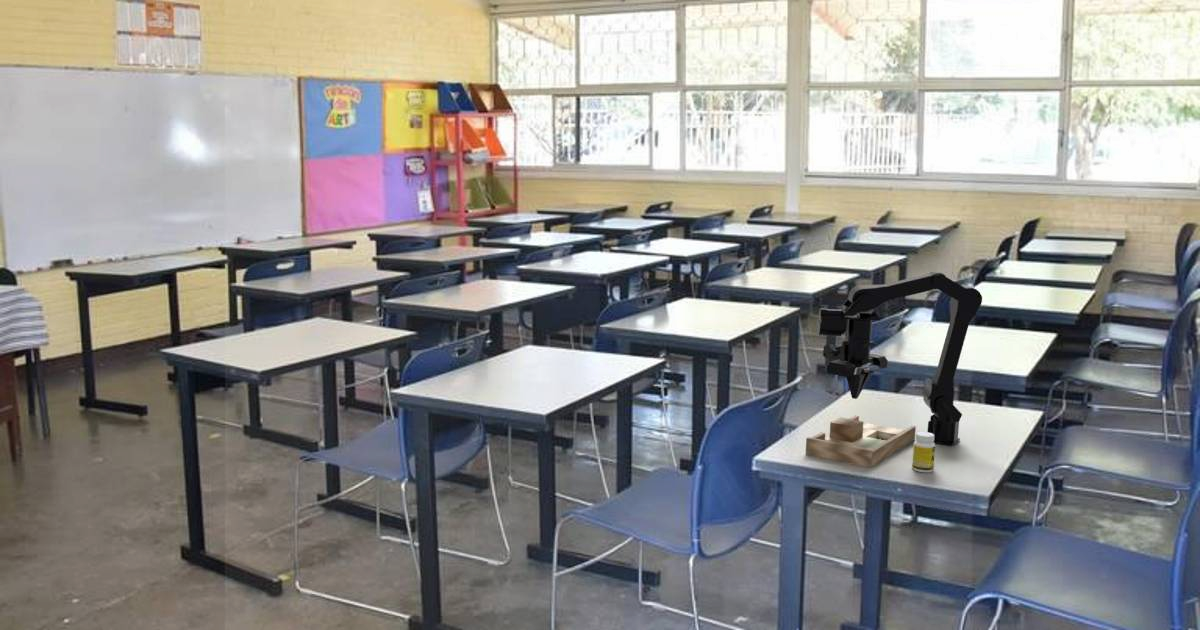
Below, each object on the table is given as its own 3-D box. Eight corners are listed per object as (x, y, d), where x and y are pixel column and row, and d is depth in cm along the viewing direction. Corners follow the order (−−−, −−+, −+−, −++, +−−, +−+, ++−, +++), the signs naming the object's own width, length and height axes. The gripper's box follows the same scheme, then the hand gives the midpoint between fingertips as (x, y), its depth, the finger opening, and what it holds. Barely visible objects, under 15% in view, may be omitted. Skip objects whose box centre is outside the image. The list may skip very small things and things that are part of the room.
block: (862, 437, 255) (863, 421, 254) (852, 442, 250) (853, 426, 249) (839, 432, 258) (840, 417, 257) (829, 438, 253) (830, 422, 253)
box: (914, 439, 260) (915, 424, 260) (869, 467, 237) (870, 450, 237) (854, 428, 270) (855, 413, 269) (805, 454, 247) (806, 437, 246)
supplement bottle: (934, 473, 234) (937, 437, 232) (912, 472, 235) (915, 436, 233) (932, 467, 238) (934, 432, 237) (910, 465, 239) (913, 430, 238)
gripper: (853, 328, 269) (848, 387, 271) (809, 336, 256) (805, 397, 259) (890, 335, 260) (886, 395, 263) (847, 343, 248) (843, 406, 251)
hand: (854, 398), depth 259 cm, fingers closed
